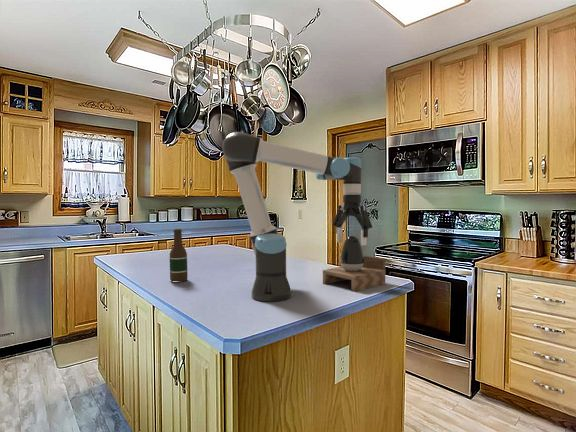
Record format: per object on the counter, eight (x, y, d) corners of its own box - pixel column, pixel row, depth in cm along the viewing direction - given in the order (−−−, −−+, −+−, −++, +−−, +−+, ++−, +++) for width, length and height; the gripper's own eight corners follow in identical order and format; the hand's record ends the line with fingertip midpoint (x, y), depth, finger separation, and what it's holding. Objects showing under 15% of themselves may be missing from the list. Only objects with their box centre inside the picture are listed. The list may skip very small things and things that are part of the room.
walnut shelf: (354, 291, 142) (354, 264, 141) (322, 283, 156) (322, 258, 155) (385, 283, 154) (385, 258, 153) (353, 277, 168) (353, 253, 167)
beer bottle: (188, 281, 163) (187, 229, 162) (170, 283, 160) (169, 230, 159) (186, 278, 170) (185, 228, 169) (169, 279, 167) (168, 228, 166)
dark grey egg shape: (346, 273, 147) (346, 237, 147) (336, 269, 157) (336, 234, 157) (368, 271, 150) (368, 236, 149) (357, 267, 160) (357, 233, 159)
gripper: (381, 194, 145) (380, 245, 146) (337, 194, 164) (336, 240, 165) (369, 193, 140) (368, 247, 141) (325, 194, 160) (324, 241, 161)
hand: (351, 243), depth 153 cm, fingers open, 13 cm apart
